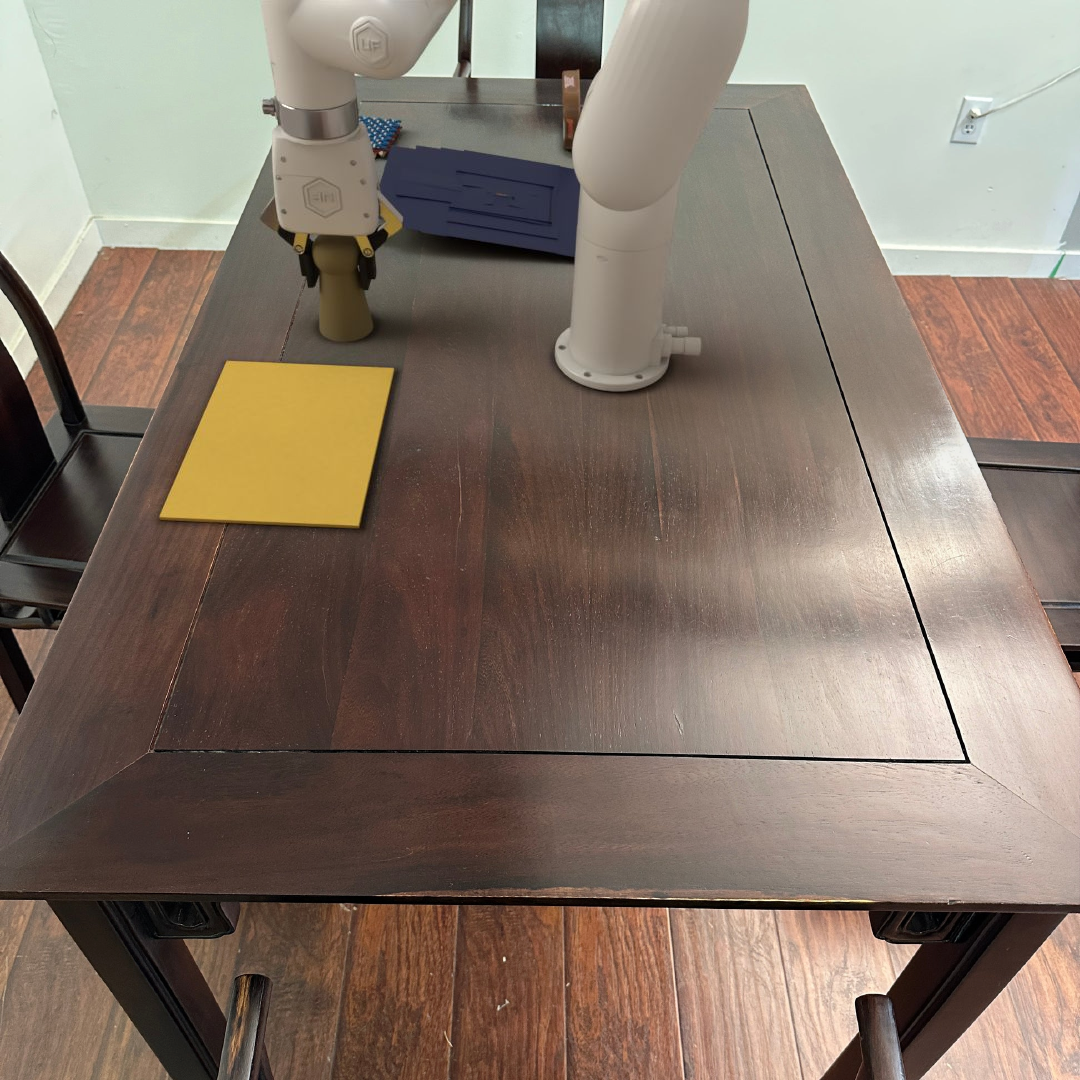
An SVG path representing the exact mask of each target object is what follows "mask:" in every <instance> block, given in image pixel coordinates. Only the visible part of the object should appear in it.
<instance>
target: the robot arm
mask: <svg viewBox="0 0 1080 1080" xmlns="http://www.w3.org/2000/svg"><path fill="white" fill-rule="evenodd" d="M259 1H260V7H261V13H262V19H263V27H264V32H265V38H266V45H267V50H268V57H269V64H270V70H271V76H272V83H273V88H274V89H273V90H274V97H270V99H269V98H268V99H267V98H266V99H265V98H263V99H262V100H261V101H262V102H261V108H262V113H263V115H270V116H272V117H275V120H276V121H277V124H276V126H275V127H274V128H273V129H272V135H271V160H272V161H271V164H272V165H271V166H272V179H273V180H272V181H273V189H274V194H273V196H272V198H271V199H270V200H269V202H268V203H267V204H266V205H265V207H264V208H263V209H262V212H261V214H260V215H259V220H260V222H261V223H262V224H264V225H265V226H267V227H269V228H270V229H271V230H272V231H274V232H276V233H277V234H278V236H279V238H281V239H282V240H284V242H286V243H287V244H288V245H290V246H291V247H292V249H293V252H294V253H295V254H296V255H297V256H298V261H299V268H300V273H301V276H302V277H305V278H306V284H307V285H306V286H307V288H308V289H313V288H316V285H317V283H318V281H319V268H318V267H317V266H316V265H315V263H314V261H313V257H312V245H313V243H314V241H315V240H312V239H311V235H318V236H320V235H339V236H354V237H355V238H356V240H357V242H358V244H359V247H360V254H359V257H358V264H359V265H358V269H359V273H360V282H361V289H363V290H364V291H369V289H370V287H371V286H370V285H371V282H372V280H373V281H374V280H376V279H377V275H378V274H377V262H376V251H377V250H378V249H380V248H381V247H382V246H383V244H385V243H386V242H387V240H388V239H389V238H390V237H392V236H394V235H395V234H396V233H398V232H399V231H400V230H402V228H403V223H404V218H403V216H402V215H401V214H400V213H399V212H398V211H397V210H396V209H395V208H394V207H393V206H392V204H391V203H390V202H389V201H388V200H387V199H386V198H385V197H384V196H383V195H382V194H381V192H380V185H379V184H380V180H379V174H378V169H377V163H376V157H375V158H374V153H373V149H372V145H371V141H370V138H369V135H368V132H367V129H366V126H365V124H364V123H362V122H359V117H360V115H359V106H358V105H359V104H358V96H357V86H356V84H357V83H356V75H358V76H361V77H363V78H364V77H365V78H369V79H371V80H377V81H378V80H379V81H391V80H396V79H399V78H401V77H403V76H405V75H406V74H407V73H409V72H410V71H411V70H412V69H413V68H414V66H415V65H416V64H417V63H418V61H419V59H420V58H421V56H422V55H423V54H424V52H425V50H426V49H427V47H429V44H430V43H431V41H432V40H433V38H434V37H435V36H436V35H437V33H438V31H440V28H441V27H442V26H443V24H444V23H445V21H446V19H447V18H448V16H449V15H450V13H451V12H452V10H453V9H454V7H455V5H456V4H457V3H458V1H459V0H259ZM749 13H750V0H626V3H625V6H624V9H623V12H622V15H621V17H620V20H619V22H618V25H617V28H616V30H615V33H614V35H613V38H612V41H611V43H610V46H609V49H608V51H607V54H606V56H605V59H604V60H603V64H602V66H601V68H600V69H598V72H596V74H595V76H594V78H593V80H592V81H591V82H590V85H589V88H588V90H587V92H586V96H585V99H584V102H583V106H582V108H581V111H580V112H581V115H580V119H579V122H578V125H577V128H576V132H575V135H574V139H573V146H572V149H571V155H572V157H571V158H572V165H573V169H574V170H575V173H576V176H577V178H578V181H579V183H580V196H579V210H578V224H577V235H576V251H575V257H574V265H573V266H574V267H573V269H574V270H573V284H572V299H571V315H570V326H569V327H568V328H566V329H565V330H564V331H563V332H562V333H560V335H559V336H558V337H557V339H556V341H555V346H554V359H555V362H556V365H557V366H558V368H559V369H560V370H561V372H562V373H563V374H564V375H565V376H567V377H568V378H569V379H571V380H572V381H574V382H576V383H578V384H580V385H582V386H585V387H588V388H589V389H590V388H591V389H595V390H598V391H605V392H606V391H607V392H628V391H635V390H639V389H643V388H646V387H649V386H650V385H653V384H654V383H656V382H657V381H659V380H660V379H661V378H662V377H663V376H664V375H665V374H666V371H667V369H668V367H669V363H670V357H671V355H682V356H698V357H699V356H700V355H701V351H702V338H701V337H695V336H694V337H693V336H692V337H691V336H689V334H688V333H689V327H688V326H681V325H680V326H677V325H676V326H667V323H663V319H662V317H663V316H662V311H663V304H664V297H665V292H666V291H665V290H666V283H667V275H668V268H669V261H670V255H671V249H672V248H671V247H672V240H673V235H674V230H675V224H676V223H675V222H676V215H677V211H678V210H677V209H678V202H679V196H680V194H679V193H680V189H681V188H680V187H681V180H682V174H683V171H684V169H685V167H686V165H687V163H688V162H689V160H690V158H691V156H692V154H693V152H694V150H695V148H696V146H697V144H698V142H699V140H700V138H701V136H702V135H703V132H704V131H705V129H706V126H707V124H708V122H709V121H710V118H711V116H712V115H713V112H714V110H715V108H716V106H717V104H718V102H719V101H720V99H721V96H722V94H723V93H724V90H725V88H726V87H727V84H728V82H729V80H730V77H731V75H732V74H733V71H734V69H735V67H736V64H737V62H738V59H739V57H740V54H741V52H742V49H743V46H744V43H745V41H746V35H747V31H748V26H749ZM379 214H380V215H381V216H382V218H383V219H384V220H383V219H382V220H383V221H384V223H381V224H380V225H379V220H380V219H379Z"/></svg>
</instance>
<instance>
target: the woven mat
mask: <svg viewBox="0 0 1080 1080" xmlns="http://www.w3.org/2000/svg"><path fill="white" fill-rule="evenodd" d="M359 122H362V123H364V124H365V126H366V129H367V132H368V135H369V138H370V141H371V145H372V149H373V153H374V158H375V159H376V157H377V155H379V156H380V158H384V157H385V156H386V154H387V153H389V151H390V148H391V145H392V144H393V143H395V139H396V138H397V135H399V133H400V131H401V130H402V129H403V126H402V125H401V124H402V120H401V119H397V120H396V119H392V117H390V118H385V119H383V118H382V117H372V116H368V117H367V116H363V115H359Z"/></svg>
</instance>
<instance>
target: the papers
mask: <svg viewBox="0 0 1080 1080" xmlns="http://www.w3.org/2000/svg"><path fill="white" fill-rule="evenodd" d="M386 158H387V159H386V161H385V166H384V168H383V172H382V176H381V179H380V181H379V185H380V192H381V194H382V195H383V196H384V197H385V198H386V199H387V200H388V201H389V202H390V203H391V204H392V206H393V207H394V208H395V209H396V210H397V211H398V212H399V213H400V214H401V215H402V216H403V218H404V223H403V227H402V228H404V229H410V230H414V231H415V230H416V231H420V233H423V234H431V235H435V236H436V235H437V236H441V237H447V238H452V237H454V238H461V239H466V240H471V241H472V240H473V241H480V242H486V243H491V244H497V245H498V244H499V245H502V246H503V245H504V246H511V247H515V248H516V247H517V248H522V249H523V248H524V249H529V250H534V251H535V250H536V251H543V252H549V253H551V254H555V255H562V256H567V257H573V258H575V251H576V235H577V224H578V210H579V196H580V183H579V181H578V178H577V176H576V173H575V170H574V168H571V167H566V166H562V165H558V164H553V163H547V162H540V161H534V160H528V159H523V158H517V157H510V156H505V155H498V154H494V153H493V154H492V153H486V152H480V151H475V150H467V149H463V150H461V149H460V150H459V149H454V148H448V147H440V148H437V147H431V146H425V145H417V144H416V145H415V148H410V147H404V146H398V145H391V146H390V149H389V152H388V155H387V157H386ZM378 220H383V221H385V220H384V219H383V218H382V216H381V215H380V214H379V219H378Z"/></svg>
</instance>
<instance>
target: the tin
mask: <svg viewBox="0 0 1080 1080" xmlns="http://www.w3.org/2000/svg"><path fill="white" fill-rule="evenodd" d="M580 79H581V78H580V69H575V70H573V69H571V70H563V71H562V73H561V96H562V99H561V100H562V141H563V142H562V143H563V144H562V145H563V149H564V150H572V146H573V139H574V135H575V132H576V128H577V125H578V122H579V119H580V115H581V111H582V108H581V84H580V83H581V80H580Z"/></svg>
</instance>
